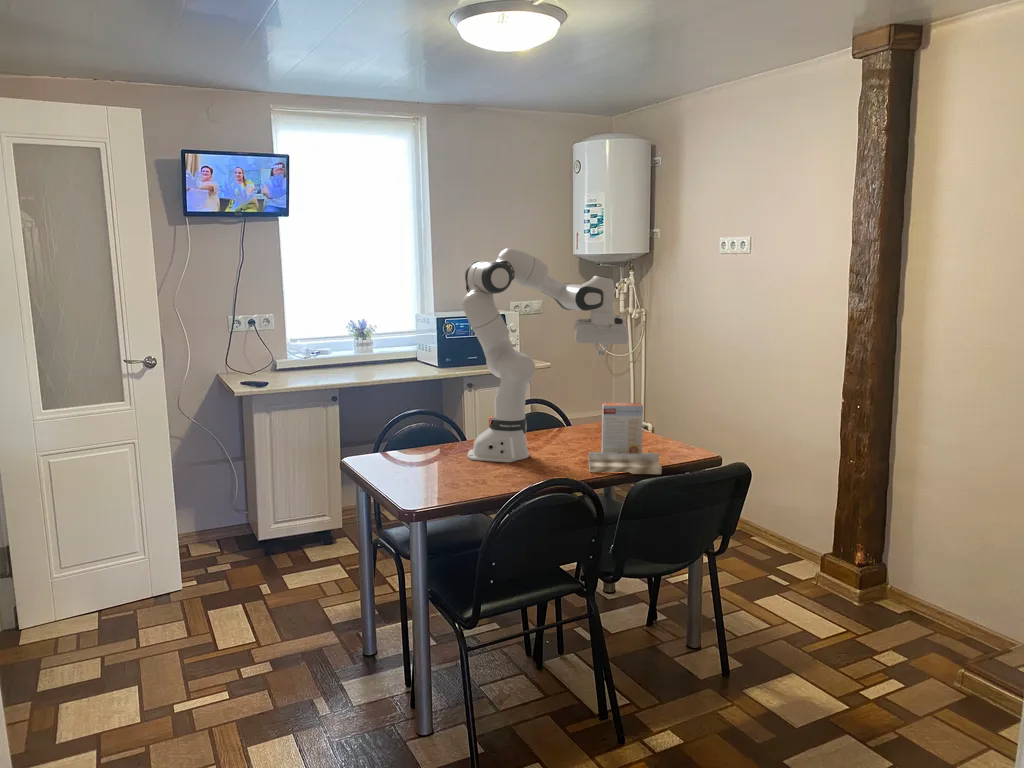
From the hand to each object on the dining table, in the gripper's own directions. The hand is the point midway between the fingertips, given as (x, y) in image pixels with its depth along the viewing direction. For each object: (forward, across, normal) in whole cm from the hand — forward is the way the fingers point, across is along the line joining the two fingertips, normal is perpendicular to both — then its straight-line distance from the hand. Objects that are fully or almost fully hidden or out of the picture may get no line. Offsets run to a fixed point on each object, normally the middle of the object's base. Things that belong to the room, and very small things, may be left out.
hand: (601, 355), depth 295 cm
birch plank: (+35, +6, -35) cm, 50 cm away
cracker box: (+35, +6, -23) cm, 42 cm away
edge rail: (+35, +6, -31) cm, 47 cm away
